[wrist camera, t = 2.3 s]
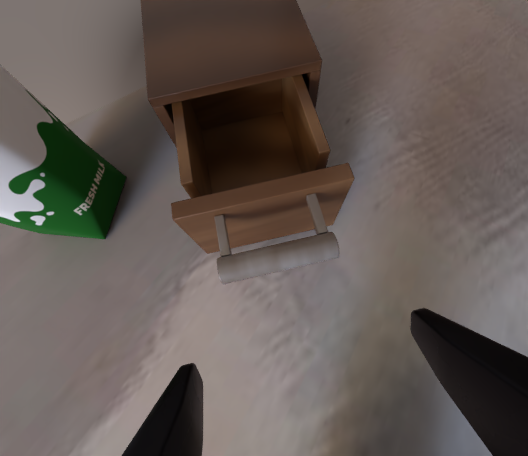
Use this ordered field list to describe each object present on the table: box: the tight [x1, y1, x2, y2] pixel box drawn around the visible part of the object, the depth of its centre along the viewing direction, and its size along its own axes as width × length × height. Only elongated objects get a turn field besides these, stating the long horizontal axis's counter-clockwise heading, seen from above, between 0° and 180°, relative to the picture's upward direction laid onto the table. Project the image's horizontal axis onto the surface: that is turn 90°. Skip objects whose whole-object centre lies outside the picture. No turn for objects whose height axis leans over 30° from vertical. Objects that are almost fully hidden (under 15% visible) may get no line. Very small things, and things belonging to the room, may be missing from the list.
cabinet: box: [141, 0, 322, 148], centre depth 26 cm, size 15×13×10 cm
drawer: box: [171, 74, 354, 284], centre depth 21 cm, size 18×11×8 cm, turn 12°
